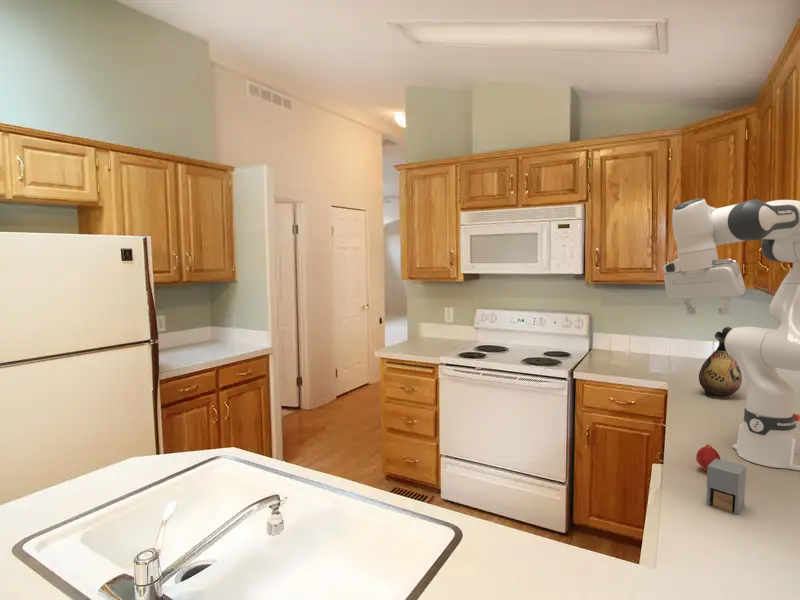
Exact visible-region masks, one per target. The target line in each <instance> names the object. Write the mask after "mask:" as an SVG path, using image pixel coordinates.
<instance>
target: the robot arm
mask: <svg viewBox="0 0 800 600" xmlns="http://www.w3.org/2000/svg"><path fill="white" fill-rule="evenodd" d="M671 216H672V217H671V219H672V220H671V222H672V231H673V232H672V233H673V236H674V239H675V242H676V244H677V245H676V246H677V250H676V253H677V254H676V255H677V258H675V259H674V260H673V261H671V262H668V263H666V264H665V265H663V266H662V270H663V271H662V272H663V273H664V274H665V275H664V287H665V294H666V296H667V297H668V298H669V299H671V300H675V299H679V300H680V301H679V302H680V304H681V305H682V307H684V309H685V313H686V315H688V316H689V315H691V316H692V315H696V313H697V311H696V307H695V306H693V305H692V304H691V299H702V298H703V299H704V298H705V299H707V298H719V299H720V302H722V304H721V306H720V307H718V308H717V311H718V314H719V315H720V316H722V315H723V316H724V315H725V316H726V315H729V314H730V309H729V307H730V305H731V303H732V301H733V298H734V297H738V296H741V295H744V293H745V292H746V285H745V282H744V278H743V275H742V272H741V270H740V264H739V263H738V262H737V261H736V260H734V259H732V258H726V259H719V254H718V249H717V246H720V245H721V246H722V245H726V244H727V245H728V244H734V243H739V242H740V243H741V242H746V241H747V242H749V241H750V242H751V241H760V240H761V244H760V248H761V249H760V250H761V253H762V255H764V257H765V259H766V260H768V261H772V262H777V263H784V262H785V263H792V268H791V269H790V270H789V272H788V273H787V274H786V276H785V277H784V278H783V280H782V281H781V283H780V285H779V287H778V289H777V291H776V292H775V294H774V296H773V298H772V300H771V302H770V304H769V306H768V307H769V308H768V310H769V313H770V315H771V317H772V318H773V319H774V320H775V321H777V322H778V323H780V325H779V326H778V328H768V327H759V326H758V327H757V326H739V327H734V328H732V330H731V331H730V332H729V333H728V334H727V336H726V338H725V349H726V351H727V353H728V354H729V355H730V356H731V357H732V358H733V359H734V360H735V361H736V362H737V364H738V366H739V368H740V371H741V373H742V374H743V377H744V381H745V386H746V405H745V406H746V407H745V408H744V411H743V422H741V423H740V424H739V428H738V433H737V434H738V435H737V441H736V443H733V444H732V448H733V447H734V448H735V449H736V450H737V451H736V450H735V449H734V450H735V451H736V454H737V453H738V454H737V456H739V457H740V458H742V459H743V460H746V461H747V462H752V463H754V464H757V465H761V466H766V467H770V468H776V469H777V468H778V469H790V470H794V471H800V430H799V429H798V428H797V422H800V413H799V414H797V413H794V402H795V391H794V389H793V387H792V385H791V384H790V383H788V382H787V381H786V380H784V379H783V378H782V377H781V376H780V374H779V373H778V371H777V369H783V370H789V371H794V372H800V200H795V199H776V200H770V201H768V202H767V201H766V202H764V201H762V200H759V199H754V198H753V199H750V200H746V201H742V202H739V203H735V204H731V205H728V206H727V205H726V206H723V207H718V208H717V207H714V206H710V205H709V204H707V201H706V199H705V198H693V199H690V200H688V201H684V202H681V203H680V204H677V205H676V206H675V207H674V208H673V210H672V214H671ZM776 368H777V369H776Z"/></svg>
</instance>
